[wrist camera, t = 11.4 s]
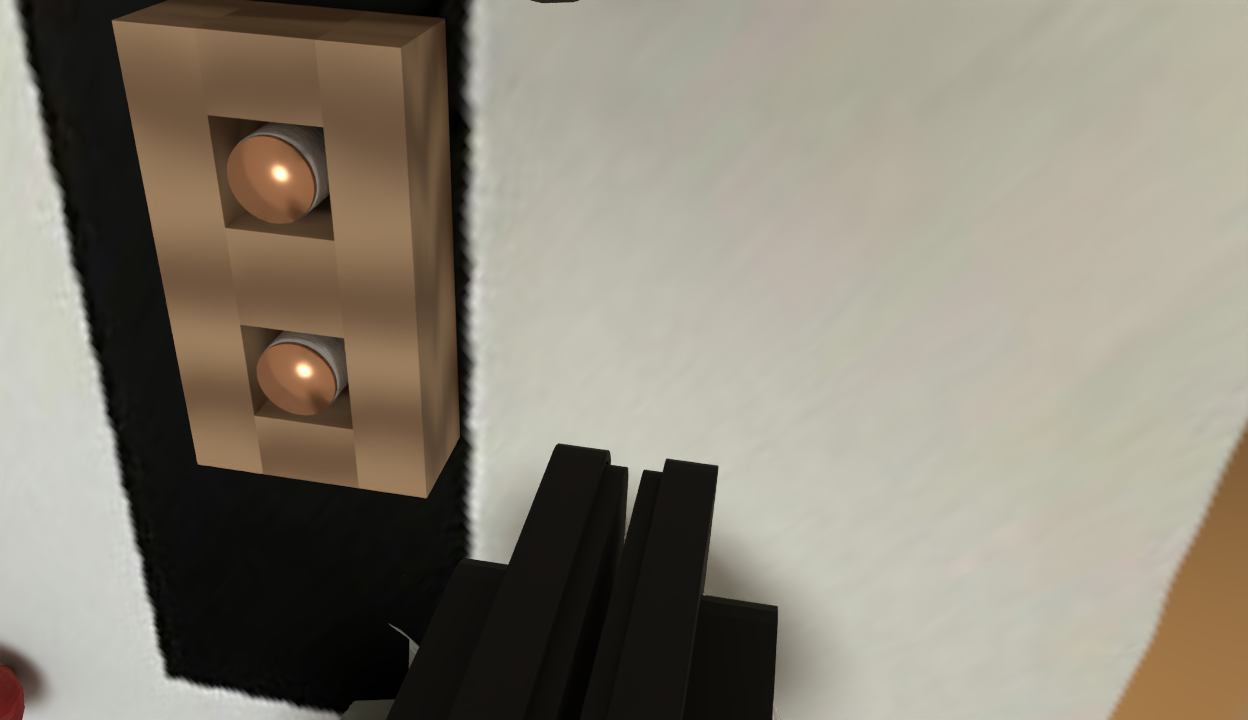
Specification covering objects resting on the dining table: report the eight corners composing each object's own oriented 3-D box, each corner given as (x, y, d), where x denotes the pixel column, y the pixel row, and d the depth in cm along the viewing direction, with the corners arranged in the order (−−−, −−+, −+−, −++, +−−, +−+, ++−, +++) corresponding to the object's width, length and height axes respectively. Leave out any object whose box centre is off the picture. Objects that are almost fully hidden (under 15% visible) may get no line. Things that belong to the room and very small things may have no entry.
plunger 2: (299, 289, 48) (250, 339, 44) (374, 298, 47) (331, 349, 43) (307, 356, 49) (261, 410, 45) (379, 366, 49) (339, 421, 45)
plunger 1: (276, 96, 43) (219, 130, 39) (358, 104, 43) (309, 140, 39) (286, 178, 45) (232, 219, 41) (365, 187, 45) (318, 229, 40)
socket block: (184, -6, 42) (111, 20, 38) (445, 18, 41) (400, 48, 36) (249, 406, 52) (197, 464, 48) (459, 436, 51) (426, 498, 47)
